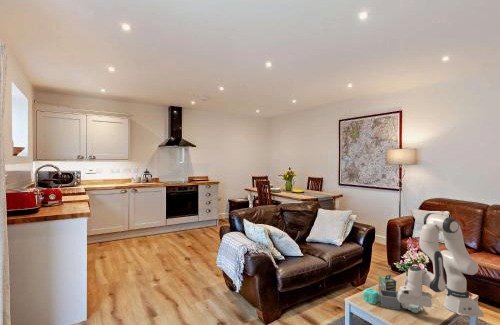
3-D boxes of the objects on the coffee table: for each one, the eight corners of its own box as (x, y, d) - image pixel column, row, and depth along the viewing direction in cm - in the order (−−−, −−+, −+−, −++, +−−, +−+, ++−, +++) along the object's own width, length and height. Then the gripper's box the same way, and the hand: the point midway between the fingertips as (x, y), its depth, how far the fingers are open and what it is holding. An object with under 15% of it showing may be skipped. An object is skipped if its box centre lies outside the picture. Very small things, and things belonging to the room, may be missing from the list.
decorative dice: (362, 300, 202) (363, 289, 202) (369, 297, 206) (369, 287, 206) (372, 305, 195) (373, 294, 195) (379, 302, 200) (379, 291, 199)
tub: (396, 302, 199) (396, 291, 199) (399, 310, 190) (400, 298, 190) (378, 299, 203) (379, 289, 203) (381, 307, 193) (381, 296, 193)
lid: (418, 305, 196) (418, 301, 196) (425, 315, 182) (425, 311, 182) (399, 302, 199) (399, 298, 199) (404, 311, 185) (404, 307, 185)
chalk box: (388, 289, 218) (388, 271, 218) (396, 295, 209) (396, 276, 209) (377, 290, 217) (378, 272, 216) (385, 296, 208) (386, 277, 207)
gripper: (430, 290, 185) (429, 310, 186) (397, 286, 191) (396, 305, 191) (433, 295, 179) (432, 315, 180) (399, 290, 185) (398, 310, 185)
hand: (413, 310), depth 186 cm, fingers closed on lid, 3 cm apart
